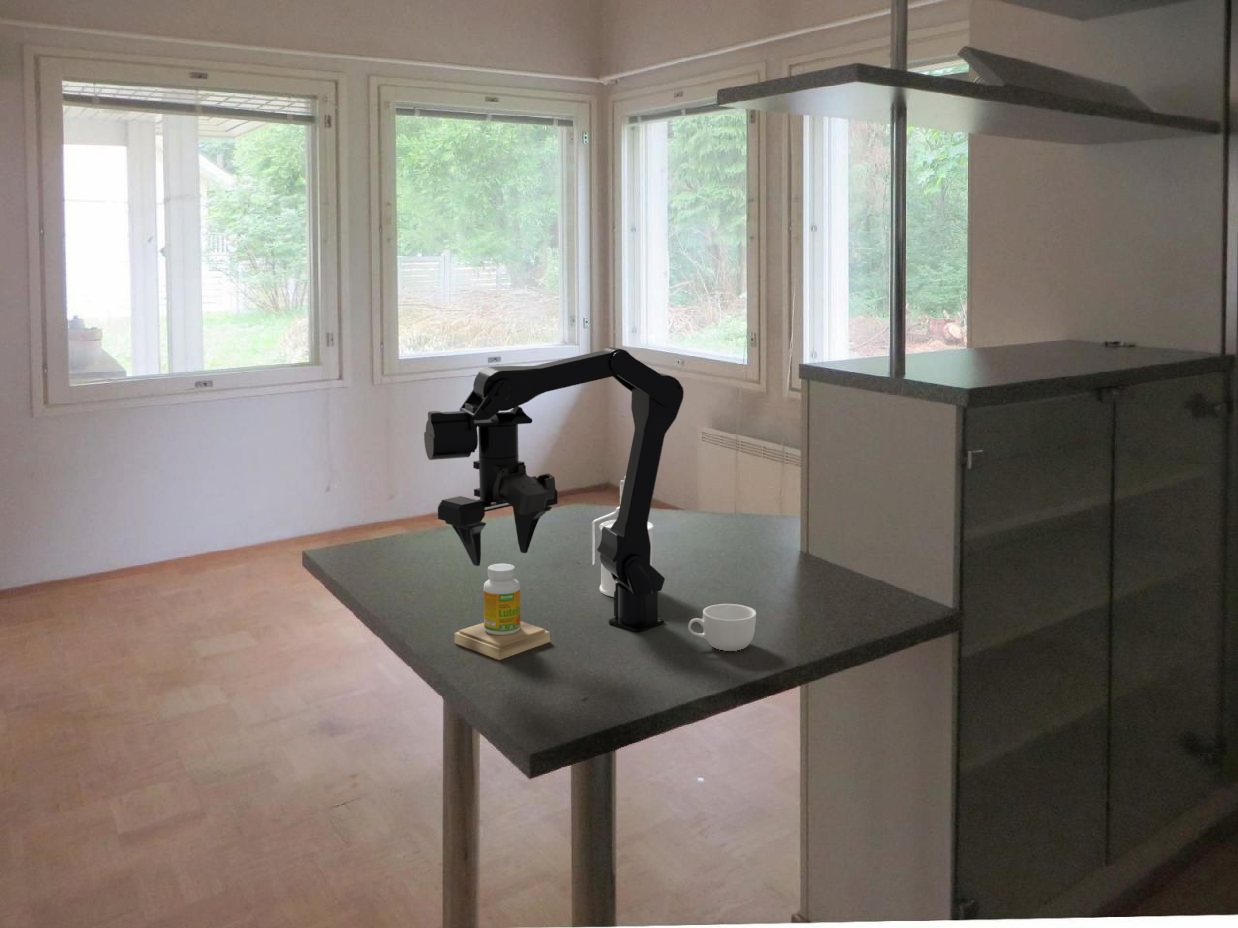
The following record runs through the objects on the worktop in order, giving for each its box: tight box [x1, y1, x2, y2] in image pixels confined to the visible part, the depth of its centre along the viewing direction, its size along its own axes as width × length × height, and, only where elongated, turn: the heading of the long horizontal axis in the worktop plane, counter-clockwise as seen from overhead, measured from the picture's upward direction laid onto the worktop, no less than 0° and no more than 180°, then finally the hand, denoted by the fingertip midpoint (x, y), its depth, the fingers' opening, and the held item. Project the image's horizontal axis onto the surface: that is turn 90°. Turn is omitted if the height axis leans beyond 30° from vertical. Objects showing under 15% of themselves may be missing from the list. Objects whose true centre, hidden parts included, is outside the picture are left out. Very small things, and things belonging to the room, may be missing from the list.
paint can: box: [591, 475, 655, 598], centre depth 189 cm, size 10×9×20 cm
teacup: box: [687, 603, 757, 652], centre depth 164 cm, size 10×8×5 cm
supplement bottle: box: [483, 563, 521, 635], centre depth 165 cm, size 5×5×10 cm
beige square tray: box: [454, 620, 551, 661], centre depth 166 cm, size 10×10×2 cm
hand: (500, 559), depth 164 cm, fingers open, 9 cm apart
